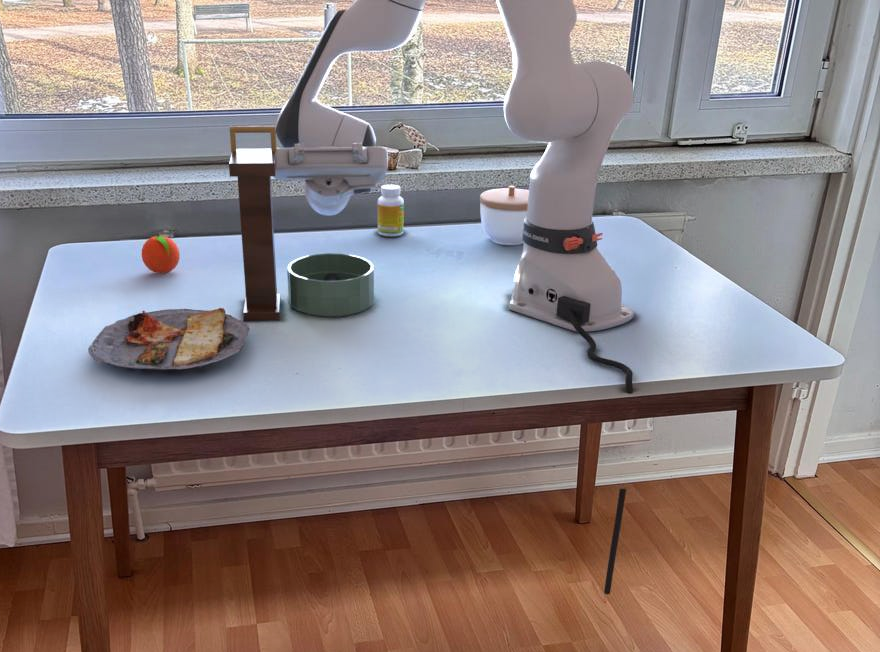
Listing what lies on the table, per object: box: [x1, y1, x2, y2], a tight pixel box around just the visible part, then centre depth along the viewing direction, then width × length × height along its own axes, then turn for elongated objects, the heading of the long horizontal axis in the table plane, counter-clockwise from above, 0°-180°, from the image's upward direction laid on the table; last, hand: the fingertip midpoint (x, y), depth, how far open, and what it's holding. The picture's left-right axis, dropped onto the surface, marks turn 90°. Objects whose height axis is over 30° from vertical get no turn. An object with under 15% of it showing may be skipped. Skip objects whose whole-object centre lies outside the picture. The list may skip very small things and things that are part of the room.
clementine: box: [141, 234, 180, 275], centre depth 185 cm, size 8×7×7 cm
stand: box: [228, 125, 282, 322], centre depth 163 cm, size 10×7×30 cm
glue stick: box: [324, 274, 340, 281], centre depth 174 cm, size 12×3×3 cm, turn 5°
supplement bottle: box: [377, 184, 405, 238], centre depth 208 cm, size 5×5×10 cm
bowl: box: [286, 252, 375, 318], centre depth 173 cm, size 15×15×6 cm
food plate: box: [87, 307, 251, 371], centre depth 156 cm, size 25×23×4 cm
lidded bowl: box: [479, 185, 529, 246], centre depth 204 cm, size 13×13×11 cm
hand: (328, 148), depth 162 cm, fingers open, 8 cm apart
